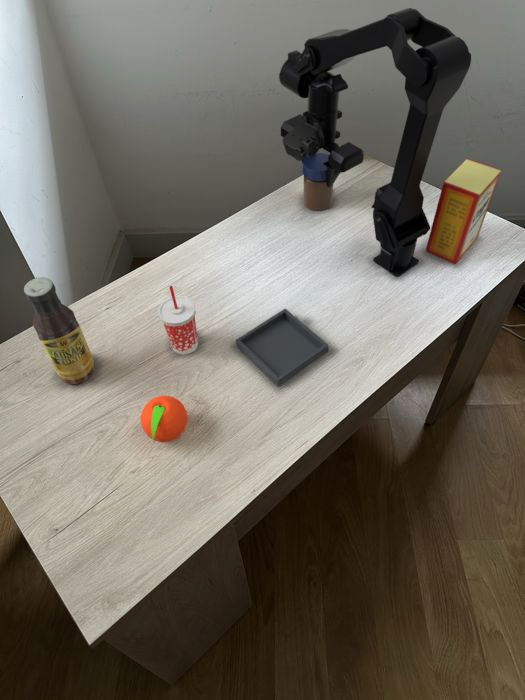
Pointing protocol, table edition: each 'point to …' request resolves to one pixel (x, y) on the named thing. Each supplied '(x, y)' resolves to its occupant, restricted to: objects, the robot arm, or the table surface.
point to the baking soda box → (462, 210)
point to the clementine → (164, 418)
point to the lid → (315, 167)
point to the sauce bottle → (59, 332)
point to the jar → (317, 195)
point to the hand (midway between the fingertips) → (318, 179)
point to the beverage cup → (179, 322)
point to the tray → (281, 347)
